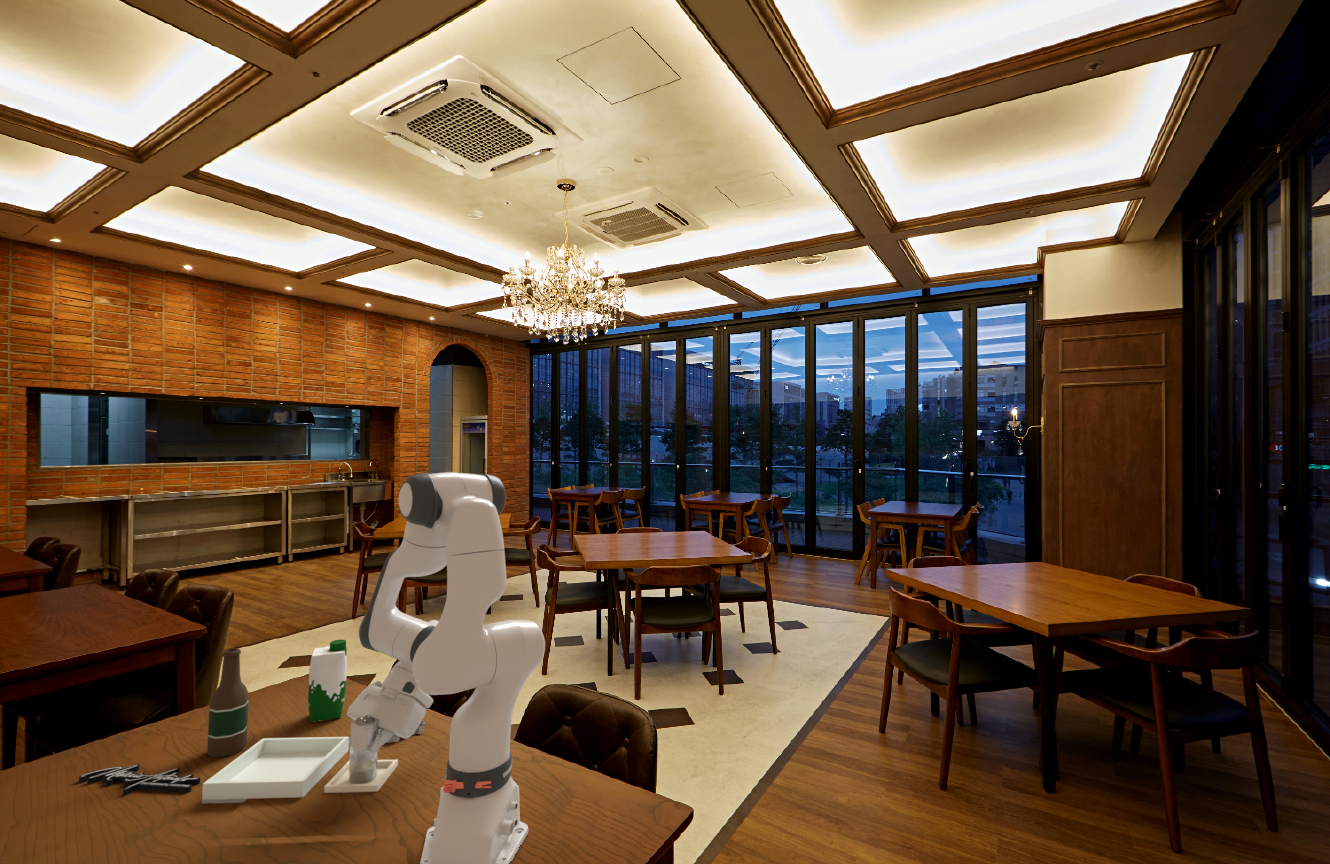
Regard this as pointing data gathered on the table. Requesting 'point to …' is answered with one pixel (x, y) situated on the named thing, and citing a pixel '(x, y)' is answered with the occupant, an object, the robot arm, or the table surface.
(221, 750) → the beer bottle
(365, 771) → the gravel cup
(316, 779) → the bin
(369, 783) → the tray
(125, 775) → the nameplate
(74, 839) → the table surface
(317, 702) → the milk carton
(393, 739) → the egg carton
